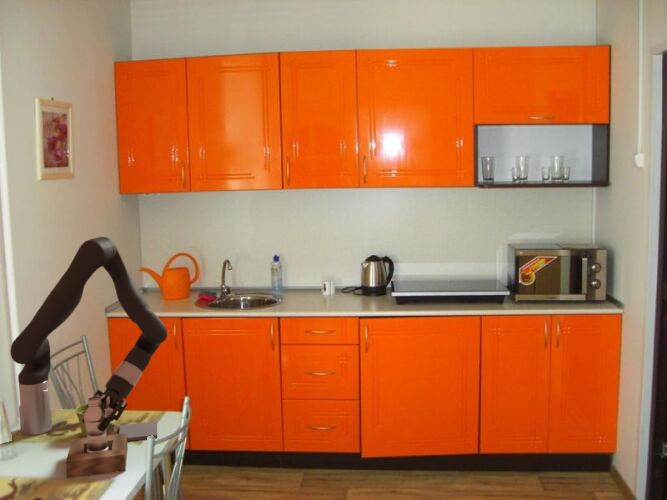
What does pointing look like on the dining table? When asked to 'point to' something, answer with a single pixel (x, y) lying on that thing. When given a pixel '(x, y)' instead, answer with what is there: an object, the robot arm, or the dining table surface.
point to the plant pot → (80, 414)
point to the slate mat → (139, 430)
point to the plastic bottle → (95, 426)
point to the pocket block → (97, 457)
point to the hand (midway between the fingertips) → (92, 426)
